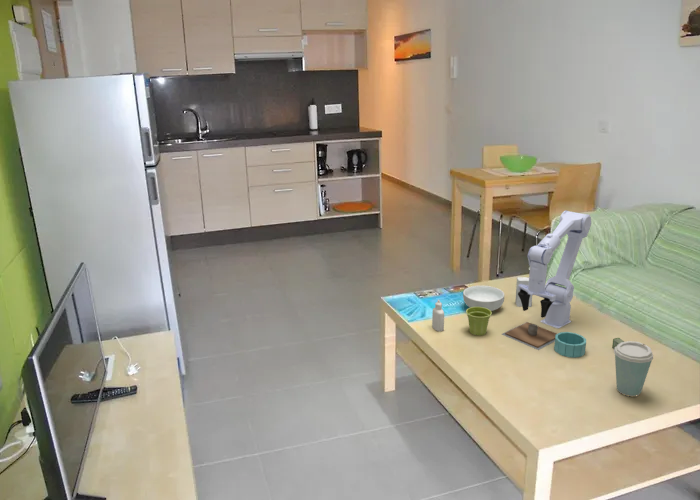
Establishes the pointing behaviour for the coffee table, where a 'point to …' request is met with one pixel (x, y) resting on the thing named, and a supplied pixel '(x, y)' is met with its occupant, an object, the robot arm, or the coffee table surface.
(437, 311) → the eye dropper bottle
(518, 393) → the coffee table surface
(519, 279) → the skincare box
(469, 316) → the plant pot
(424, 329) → the coffee table surface
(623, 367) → the disposable coffee cup
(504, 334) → the rubber mat
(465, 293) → the cereal bowl
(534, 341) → the walnut lid
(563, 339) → the teal bowl
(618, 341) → the medication box
